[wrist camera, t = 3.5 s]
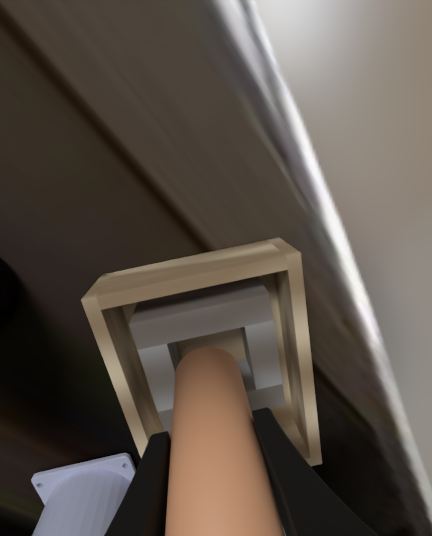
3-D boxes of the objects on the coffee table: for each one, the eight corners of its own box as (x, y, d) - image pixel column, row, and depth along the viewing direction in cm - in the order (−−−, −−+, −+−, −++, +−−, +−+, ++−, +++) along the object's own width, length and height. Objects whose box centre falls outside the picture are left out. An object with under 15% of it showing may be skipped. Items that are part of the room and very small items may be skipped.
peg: (245, 393, 15) (323, 684, 6) (184, 408, 15) (180, 724, 6) (232, 340, 14) (305, 600, 5) (167, 356, 14) (134, 645, 5)
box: (301, 418, 25) (322, 463, 21) (162, 450, 24) (157, 502, 21) (278, 237, 20) (300, 252, 16) (101, 274, 19) (80, 299, 15)
